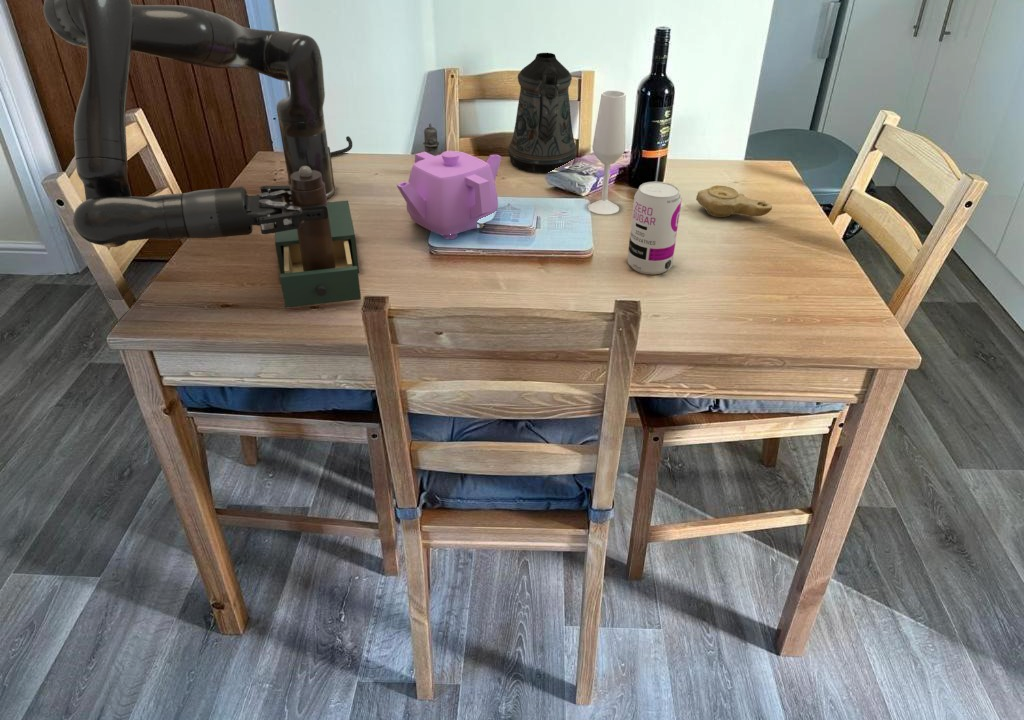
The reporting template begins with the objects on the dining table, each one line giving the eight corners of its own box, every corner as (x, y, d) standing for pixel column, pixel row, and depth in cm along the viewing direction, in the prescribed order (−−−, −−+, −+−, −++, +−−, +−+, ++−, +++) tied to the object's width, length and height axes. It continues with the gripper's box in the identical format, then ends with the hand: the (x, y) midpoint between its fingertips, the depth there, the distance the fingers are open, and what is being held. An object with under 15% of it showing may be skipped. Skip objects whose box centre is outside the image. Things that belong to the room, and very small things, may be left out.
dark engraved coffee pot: (550, 146, 195) (555, 42, 180) (596, 170, 181) (605, 60, 167) (495, 157, 187) (495, 50, 173) (539, 183, 174) (543, 70, 160)
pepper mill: (313, 258, 133) (298, 158, 122) (341, 263, 131) (328, 162, 121) (297, 272, 129) (280, 169, 118) (325, 278, 127) (310, 174, 117)
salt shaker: (441, 180, 175) (439, 128, 168) (416, 178, 176) (413, 126, 169) (448, 171, 180) (446, 120, 173) (424, 169, 180) (421, 118, 174)
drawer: (361, 303, 127) (358, 272, 124) (285, 311, 125) (279, 280, 121) (353, 260, 140) (350, 231, 136) (284, 267, 137) (279, 238, 134)
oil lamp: (770, 225, 157) (775, 202, 154) (701, 224, 157) (705, 202, 154) (756, 204, 165) (761, 182, 163) (691, 204, 165) (694, 182, 162)
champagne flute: (584, 211, 161) (592, 96, 148) (592, 199, 167) (601, 87, 153) (615, 216, 159) (626, 100, 146) (622, 204, 165) (634, 91, 151)
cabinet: (359, 273, 138) (354, 234, 133) (282, 281, 135) (274, 242, 131) (352, 236, 150) (348, 200, 146) (281, 243, 147) (274, 206, 143)
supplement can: (674, 259, 144) (685, 183, 135) (667, 279, 137) (678, 201, 129) (632, 252, 146) (640, 177, 137) (623, 271, 139) (631, 194, 131)
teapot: (400, 244, 148) (394, 169, 139) (411, 206, 163) (407, 136, 154) (499, 246, 148) (499, 171, 139) (501, 208, 162) (501, 138, 154)
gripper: (209, 209, 112) (326, 199, 116) (215, 173, 124) (321, 165, 127) (220, 255, 117) (332, 244, 120) (224, 216, 128) (327, 207, 132)
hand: (326, 203), depth 124 cm, fingers closed on pepper mill, 5 cm apart
